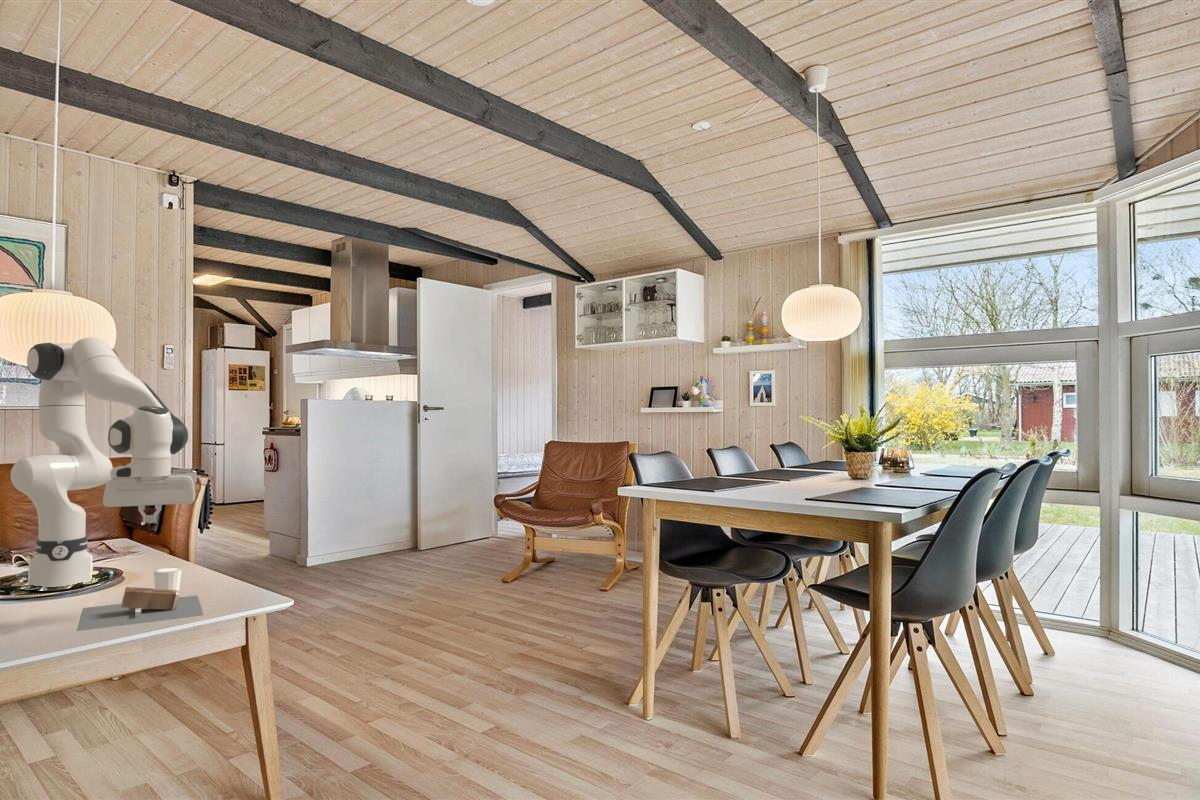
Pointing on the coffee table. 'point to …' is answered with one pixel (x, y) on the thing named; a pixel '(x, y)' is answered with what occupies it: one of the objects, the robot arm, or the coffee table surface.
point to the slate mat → (136, 614)
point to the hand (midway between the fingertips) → (149, 522)
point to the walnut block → (150, 598)
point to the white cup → (167, 578)
